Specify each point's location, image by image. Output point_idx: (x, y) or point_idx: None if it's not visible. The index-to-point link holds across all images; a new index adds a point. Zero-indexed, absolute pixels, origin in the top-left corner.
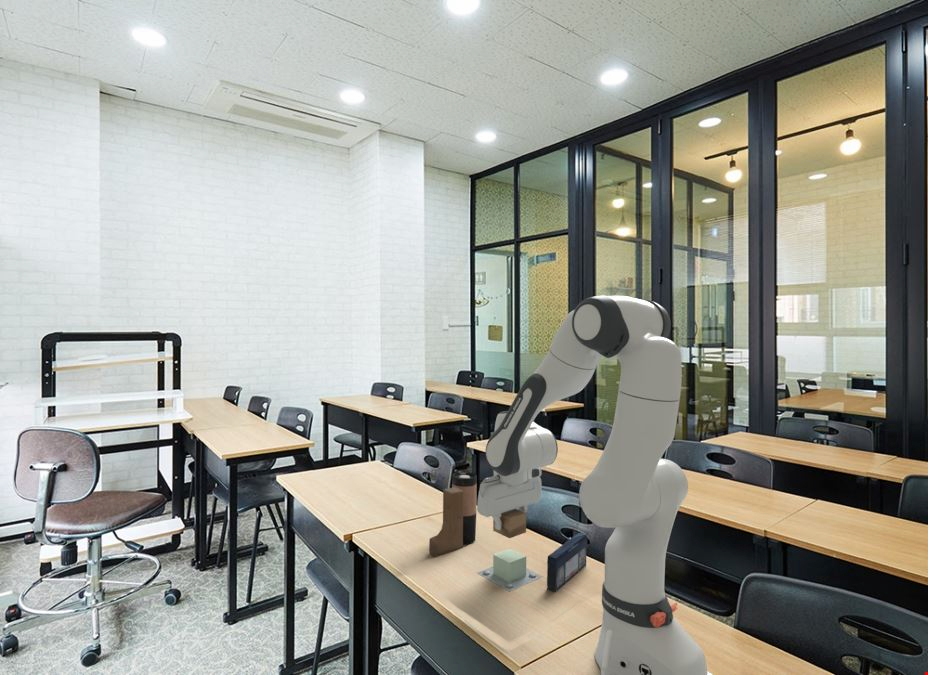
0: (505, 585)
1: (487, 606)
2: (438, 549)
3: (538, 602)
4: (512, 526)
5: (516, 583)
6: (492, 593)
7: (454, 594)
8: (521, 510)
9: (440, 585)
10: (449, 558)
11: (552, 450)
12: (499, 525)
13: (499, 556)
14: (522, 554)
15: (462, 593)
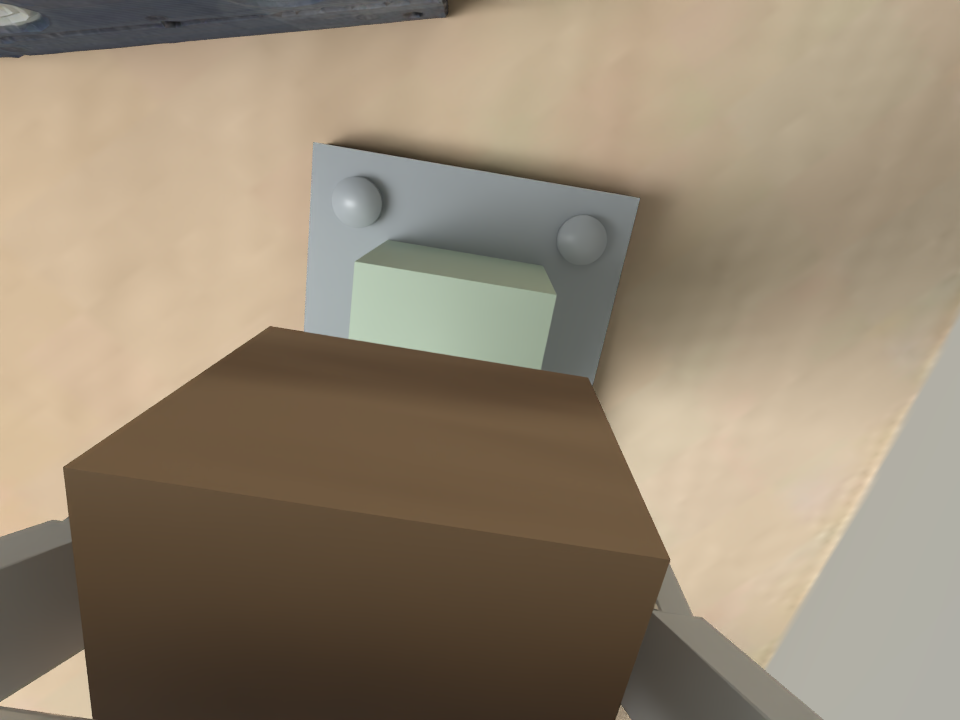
0: (588, 265)
1: (792, 236)
2: None
3: (562, 8)
4: (549, 438)
5: (521, 225)
6: (648, 302)
7: (779, 444)
8: (5, 642)
9: (740, 543)
10: None
11: None
12: (681, 595)
13: None
14: (352, 305)
15: (746, 421)
